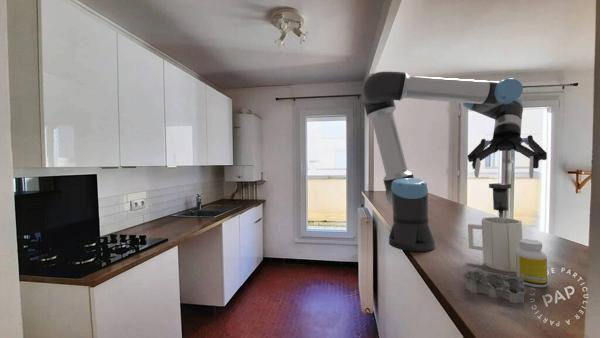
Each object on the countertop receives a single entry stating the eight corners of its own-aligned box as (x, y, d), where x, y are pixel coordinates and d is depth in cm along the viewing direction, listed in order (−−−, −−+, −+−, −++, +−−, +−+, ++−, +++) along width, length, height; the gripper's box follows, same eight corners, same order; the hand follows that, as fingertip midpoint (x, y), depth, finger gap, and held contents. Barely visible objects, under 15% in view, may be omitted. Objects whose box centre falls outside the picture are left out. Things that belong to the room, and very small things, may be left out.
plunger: (487, 259, 69) (484, 184, 69) (490, 252, 74) (488, 183, 73) (516, 264, 65) (513, 185, 65) (517, 257, 69) (515, 183, 69)
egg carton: (462, 291, 58) (461, 274, 58) (469, 279, 63) (468, 263, 63) (524, 308, 50) (523, 287, 50) (526, 293, 56) (525, 274, 56)
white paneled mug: (466, 263, 72) (464, 220, 72) (472, 255, 78) (471, 215, 78) (522, 275, 63) (520, 225, 63) (524, 264, 70) (522, 219, 69)
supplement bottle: (554, 289, 56) (552, 245, 56) (525, 287, 57) (523, 244, 57) (537, 278, 61) (536, 238, 61) (511, 277, 63) (510, 237, 63)
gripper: (557, 134, 83) (558, 183, 73) (467, 141, 101) (458, 181, 90) (556, 116, 79) (558, 166, 69) (464, 127, 97) (454, 167, 87)
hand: (502, 175), depth 80 cm, fingers open, 13 cm apart
